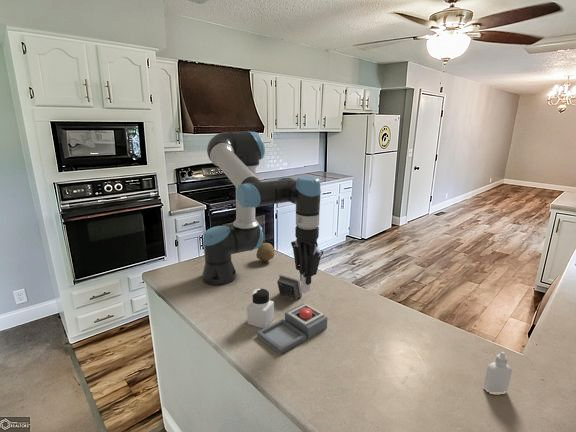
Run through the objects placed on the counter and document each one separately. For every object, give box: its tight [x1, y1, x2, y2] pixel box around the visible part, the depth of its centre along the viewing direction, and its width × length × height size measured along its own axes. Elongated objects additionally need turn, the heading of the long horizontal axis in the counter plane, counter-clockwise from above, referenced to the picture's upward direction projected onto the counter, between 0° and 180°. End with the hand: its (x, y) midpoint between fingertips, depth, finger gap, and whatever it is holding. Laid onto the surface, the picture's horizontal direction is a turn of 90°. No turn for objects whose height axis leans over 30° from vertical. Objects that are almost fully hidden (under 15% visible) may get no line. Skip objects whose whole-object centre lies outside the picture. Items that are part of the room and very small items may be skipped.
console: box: [256, 303, 328, 356], centre depth 110 cm, size 12×21×5 cm, turn 131°
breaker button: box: [299, 308, 312, 321], centre depth 114 cm, size 4×4×4 cm
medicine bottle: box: [246, 288, 275, 329], centre depth 115 cm, size 7×7×12 cm
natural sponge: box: [255, 242, 276, 263], centre depth 165 cm, size 9×9×10 cm
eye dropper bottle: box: [483, 351, 513, 392], centre depth 85 cm, size 4×6×12 cm
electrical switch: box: [276, 273, 303, 301], centre depth 132 cm, size 9×5×9 cm, turn 57°
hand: (305, 291), depth 111 cm, fingers closed
